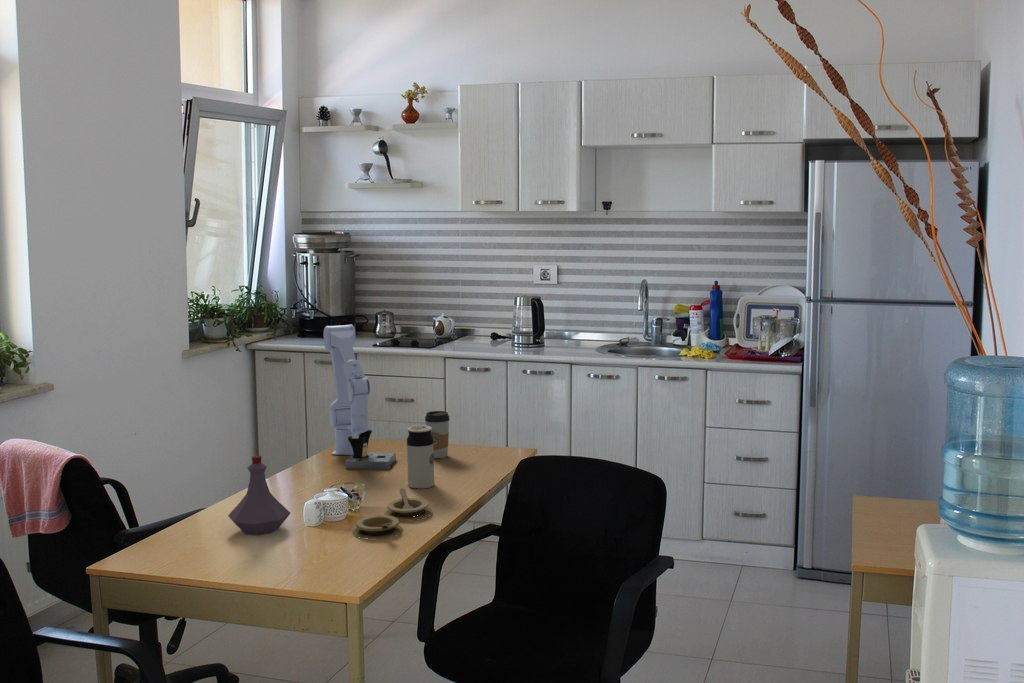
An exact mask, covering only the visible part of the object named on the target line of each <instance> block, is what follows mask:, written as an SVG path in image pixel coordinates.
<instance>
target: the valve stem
mask: <svg viewBox="0 0 1024 683" xmlns="http://www.w3.org/2000/svg"><path fill="white" fill-rule="evenodd" d="M367 452H368V448H367V443H366V442H364V445H363V452H362V458H355V459H363V458H368V456H367Z"/></svg>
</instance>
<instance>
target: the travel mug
mask: <svg viewBox="0 0 1024 683" xmlns="http://www.w3.org/2000/svg"><path fill="white" fill-rule="evenodd" d="M431 430H432V427H430V426H426V424H423V425H411V426H409V427H407V432H408V435H407V437H406V452H407V453H406V457H407V461H406V462H407V486H408V487H410V488H411V489H416V488H417V490H423V488H425V489H430V488H431V486H432V487H433V486H434V485H435V467H434V466H435V462H434V460H435V459H434V451H433V437H432V435H431Z"/></svg>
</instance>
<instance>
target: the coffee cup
mask: <svg viewBox="0 0 1024 683" xmlns="http://www.w3.org/2000/svg"><path fill="white" fill-rule="evenodd" d="M424 421H425V426H430V427H432V430H431V435H432V437H433V451H434V458H442V457H446V456H448V455H449V454H448V451H449V436H450V435H449V434H450V432H449V429H450V428H449V427H450V426H449V425H450V415H449V412H448V411H444V410H433V411H432V410H431V411H428V412H426V413H425V417H424ZM446 458H447V457H446ZM442 459H443V458H442Z"/></svg>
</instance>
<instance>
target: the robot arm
mask: <svg viewBox="0 0 1024 683" xmlns="http://www.w3.org/2000/svg"><path fill="white" fill-rule="evenodd" d="M355 340H356V329H355V326H354V325H353V324H345V325H340V324H339V325H326V326H325V327H324V328H323V342H324V348H325V351H327V352H329V354H330V357H331V367H332V373H333V382H334V384H333V385H334V390H335V391H334V392H335V393H334V394H335V400H334V401H333V402H331V403H330V405H329V407H328V421H329V422H328V423H329V425H330V426H331V428H334V449H335V450H334V451H332V453H331V455H336V456H337V455H338V456H339V455H340V456H341V455H342V456H344V455H347V456H348V455H349V456H351V455H352V454H353V453H354V456H355V458H362V452H363V445H364V442H366V443H367V449H368V446H369V442H370V441H369V440H370V438H371V434H372V432H373V430H372V429H370V425H369V422H370V421H369V400H368V399H369V396H368V395H370V393H371V392H370V391H371V384H370V380H369V378H368V377H367V375H365V374H364V371H363V368H362V365H361V362H360V361H359V360H357V359H356V356H355V351H354V350H355V349H354V347H353V345H354V343H355Z"/></svg>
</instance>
